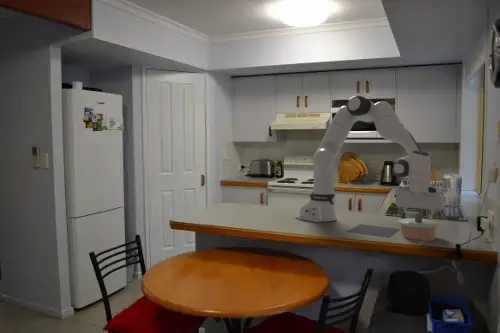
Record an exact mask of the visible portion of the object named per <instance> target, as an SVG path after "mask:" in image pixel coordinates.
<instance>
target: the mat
mask: <svg viewBox="0 0 500 333" xmlns="http://www.w3.org/2000/svg"><path fill="white" fill-rule="evenodd" d="M399 231H401V228H394V227H387V226H386V227H385V226H379V225H370V224H358V225H356V226H354V227H352V228H351V229H348V230H347V231H345V233H352V234H353V233H354V234H359V235H367V236H375V237H381V238H382V237H383V238H388V239H389V238H391V237H392V236H393V235H395V234H396V233H398V232H399Z"/></svg>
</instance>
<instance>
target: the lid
mask: <svg viewBox="0 0 500 333" xmlns="http://www.w3.org/2000/svg"><path fill="white" fill-rule="evenodd" d="M397 223H398V224H399V225H400V226H401V225H404V226H409V227H416V228H434V227H436V228H438V227H439V226H440V222H438V221H436V220H433V219H432V220H430V219H428V218H427V219H425V218H423V212H418V213H415V218H406V219H401V218H400V219H398V221H397Z"/></svg>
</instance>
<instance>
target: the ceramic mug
mask: <svg viewBox="0 0 500 333" xmlns="http://www.w3.org/2000/svg"><path fill="white" fill-rule="evenodd" d="M407 212H408V213H410V217H406V213H405V212H404V210H403V211H402V213H401V216H400V219H406V218H415V213H419V212H417V211H408V210H407Z"/></svg>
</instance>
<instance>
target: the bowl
mask: <svg viewBox="0 0 500 333" xmlns="http://www.w3.org/2000/svg"><path fill="white" fill-rule="evenodd" d="M436 234H437V227H434V228H416V227H409V226H404V225H401V224H400V235H401V236H402V237H403V238H407V239H410V240H416V241H422V242H430V241H435V240H434V239H436V237H437V235H436Z"/></svg>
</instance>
